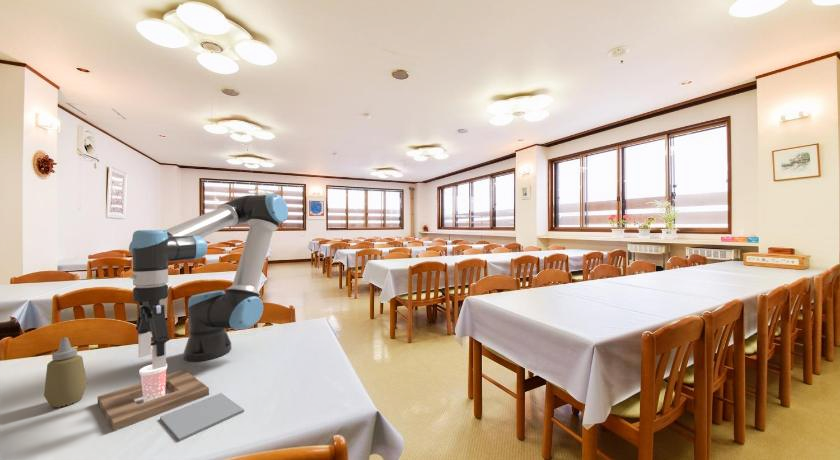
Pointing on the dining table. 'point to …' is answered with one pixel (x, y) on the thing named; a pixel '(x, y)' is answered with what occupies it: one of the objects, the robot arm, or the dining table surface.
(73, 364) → the squeeze bottle
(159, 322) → the robot arm
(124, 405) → the pocket holder
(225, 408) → the rubber mat
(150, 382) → the beverage cup
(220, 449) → the dining table surface
